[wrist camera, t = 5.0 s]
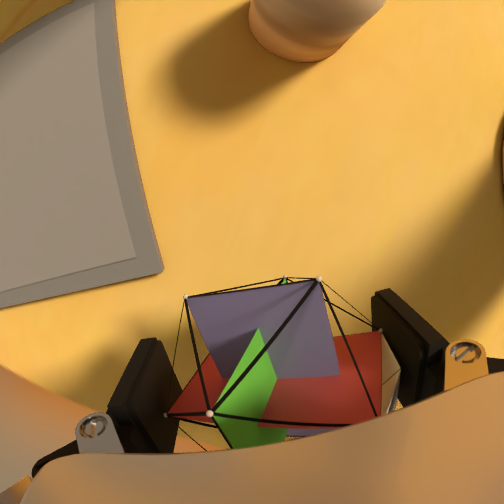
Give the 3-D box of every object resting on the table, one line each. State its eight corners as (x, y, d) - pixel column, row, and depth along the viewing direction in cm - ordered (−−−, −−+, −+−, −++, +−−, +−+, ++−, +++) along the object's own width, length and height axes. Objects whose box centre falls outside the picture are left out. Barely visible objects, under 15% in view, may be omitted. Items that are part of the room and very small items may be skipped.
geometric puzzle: (180, 441, 11) (304, 557, 5) (101, 315, 10) (210, 455, 3) (292, 358, 15) (432, 408, 9) (253, 236, 13) (434, 239, 7)
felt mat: (114, -11, 10) (110, -17, 10) (164, 268, 14) (161, 272, 14) (-63, 104, 10) (-69, 103, 9) (-28, 312, 14) (-33, 315, 13)
